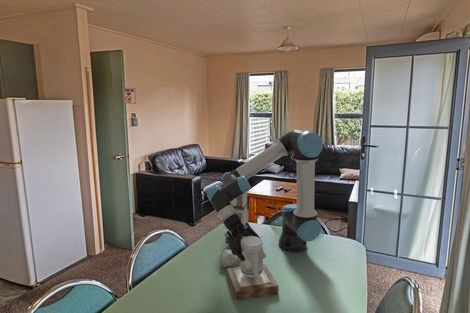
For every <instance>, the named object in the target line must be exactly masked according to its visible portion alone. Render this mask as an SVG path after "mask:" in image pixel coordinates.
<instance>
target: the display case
mask: <svg viewBox="0 0 470 313" xmlns="http://www.w3.org/2000/svg"><path fill="white" fill-rule="evenodd" d="M230 203H231V205H232V206H233V208H234V209H235V211H236V214H238V216H239V217H240V219H241V223H242V224H246V223H248V191H247V192H246V193H244V194H242V195H241V196H239V197H237V198H236V199H234V200H233V201H231V202H230ZM244 233H245V232H244ZM231 235H232V234H231ZM232 237H233V235H232ZM242 238H244V236H240V237H239V239H240V244H241V239H242ZM225 243H228V240H227V238H226V237H225Z"/></svg>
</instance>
